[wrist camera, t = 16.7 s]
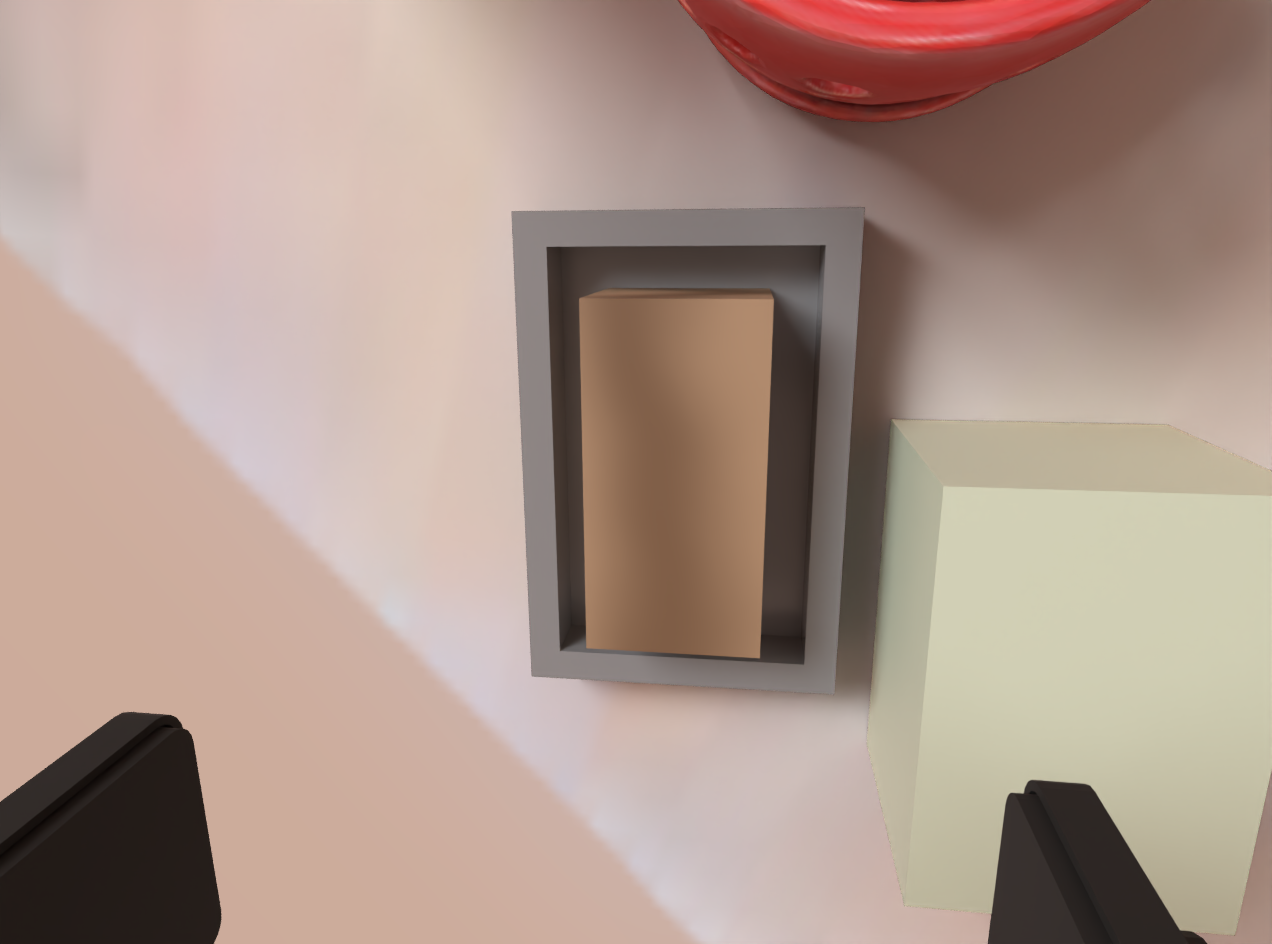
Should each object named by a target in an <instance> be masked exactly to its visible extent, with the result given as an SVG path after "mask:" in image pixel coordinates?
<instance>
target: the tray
mask: <svg viewBox="0 0 1272 944" xmlns="http://www.w3.org/2000/svg"><path fill="white" fill-rule="evenodd" d="M864 212H865V207H852V208H762V209H672V210H582V211H512V234H513V257H514V280H515V303H516V326H517V349H518V372H519V395H520V419H521V442H522V465H523V488H524V511H525V534H526V557H527V580H528V603H529V626H530V649H531V672H532V676H533V677H550V678H567V679H584V680H600V681H617V682H634V683H650V684H667V685H684V686H700V687H717V688H734V689H750V690H767V691H784V692H800V693H817V694H834V693H835V677H836V661H837V645H838V629H839V613H840V597H841V581H842V565H843V549H844V533H845V517H846V501H847V485H848V469H849V453H850V437H851V421H852V405H853V389H854V373H855V357H856V341H857V325H858V309H859V293H860V277H861V261H862V244H863V228H864ZM608 288H770V291H771V293H772V296H773V298H774V309H773V335H772V360H771V386H770V412H769V437H768V463H767V488H766V514H765V540H764V565H763V591H762V616H761V642H760V658H746V657H729V656H711V655H694V654H677V653H660V652H642V651H625V650H608V649H590V648H586V605H585V557H584V509H583V461H582V414H581V366H580V318H579V298H582V297H585V296H587V295H590V294H593V293H596V292H599V291H602V290H605V289H608Z"/></svg>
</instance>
